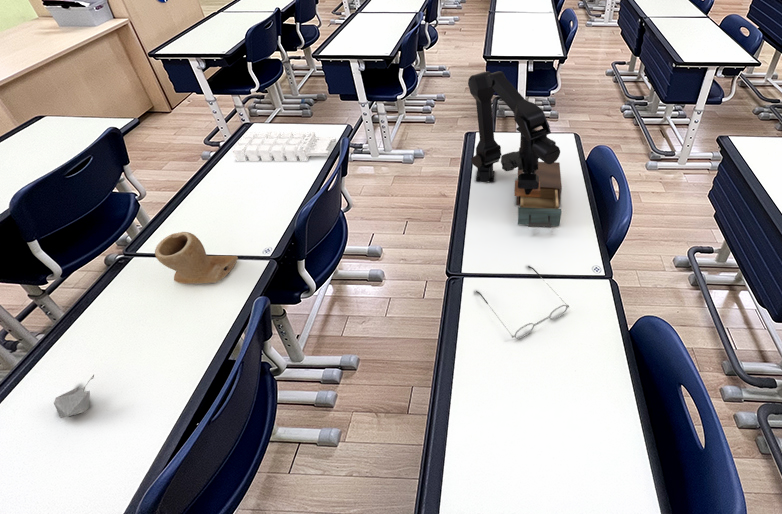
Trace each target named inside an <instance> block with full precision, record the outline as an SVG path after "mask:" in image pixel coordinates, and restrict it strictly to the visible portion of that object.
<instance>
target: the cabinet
mask: <svg viewBox="0 0 782 514" xmlns="http://www.w3.org/2000/svg"><path fill="white" fill-rule="evenodd" d="M521 173H523V170H518V169H517V177H516V178H517V179H516V181H518V176H519V175H520V174H521ZM535 174H537V175H538V176H539V181H540V189H557V190H558V203H559V208H560V206H561V199H562V190H563V188H562V177H561V175H562V173H561V163H560V162H559V161H555V162H554V163H552V164H547V163H545V162H544V161H538V170H536V171H535ZM520 199H521V196H516V206H520Z"/></svg>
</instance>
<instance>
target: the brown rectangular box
mask: <svg viewBox="0 0 782 514" xmlns="http://www.w3.org/2000/svg"><path fill="white" fill-rule="evenodd" d="M517 196H526V197H540V181H539V188H538V189H533V190H532V191H531V193H530V194H529V195H526V194H525V190H524V189H519V188H518V181H517V179H516V180H515V181H514V197H517Z"/></svg>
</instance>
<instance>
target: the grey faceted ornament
mask: <svg viewBox="0 0 782 514" xmlns="http://www.w3.org/2000/svg"><path fill="white" fill-rule="evenodd" d="M94 378H95V374H92V376H91V377H90V379H89V380H88V381H87V383H86V384H85V385H84V386H83V387H80V386H78V387H75V388H72V389H71V390H69V391H67V392H65V393H62V394H60V395H59V396H56V397H55V399H54V402H53V405H54V407H55V410H56V412H57V414H58V416H59V418H60V419H64V418H67V417H68V418H69V417H72V416H76V415H78V414H82V413H84V412H86V411H87V410H88V409H89V408H90V397H91V391H90V390H87V391H86V387H87V385H88V384H89V383H90V381H91V380H93V379H94Z"/></svg>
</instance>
